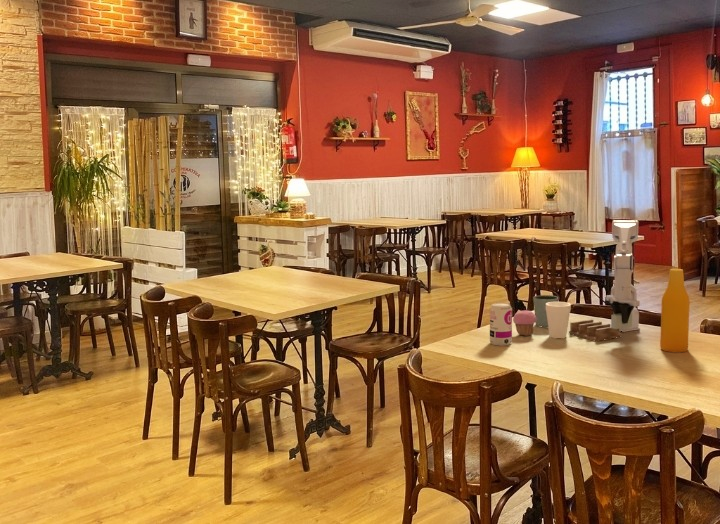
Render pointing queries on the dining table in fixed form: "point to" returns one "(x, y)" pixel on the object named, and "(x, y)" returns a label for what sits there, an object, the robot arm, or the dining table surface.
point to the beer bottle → (675, 314)
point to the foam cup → (558, 318)
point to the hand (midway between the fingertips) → (621, 322)
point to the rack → (593, 330)
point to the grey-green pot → (542, 308)
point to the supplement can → (500, 324)
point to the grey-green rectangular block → (620, 321)
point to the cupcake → (524, 322)
